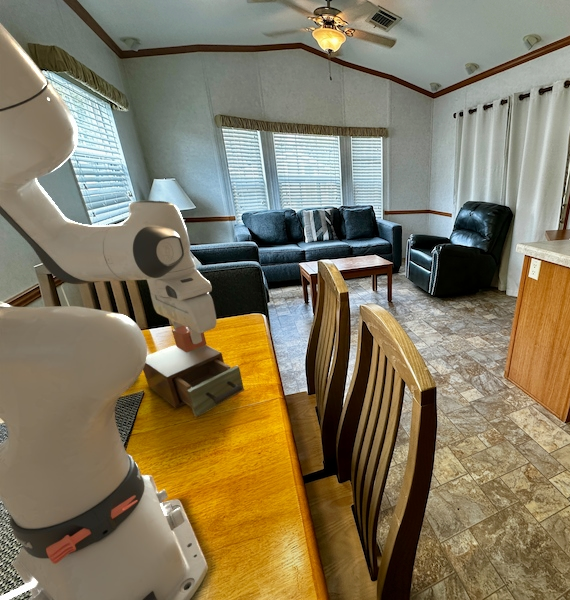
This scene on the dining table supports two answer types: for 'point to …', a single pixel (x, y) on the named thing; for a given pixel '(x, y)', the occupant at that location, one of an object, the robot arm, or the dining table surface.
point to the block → (186, 339)
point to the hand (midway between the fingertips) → (190, 339)
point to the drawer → (208, 385)
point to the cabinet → (174, 368)
